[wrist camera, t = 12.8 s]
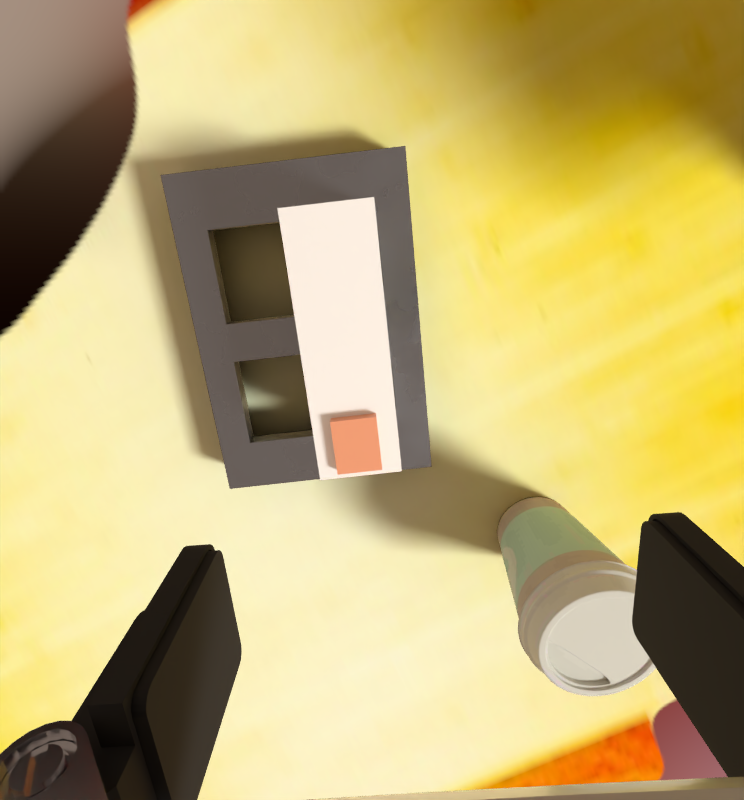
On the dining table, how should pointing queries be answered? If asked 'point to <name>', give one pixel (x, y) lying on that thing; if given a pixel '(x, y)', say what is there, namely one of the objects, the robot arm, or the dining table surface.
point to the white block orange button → (342, 335)
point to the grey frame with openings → (277, 336)
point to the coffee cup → (571, 600)
